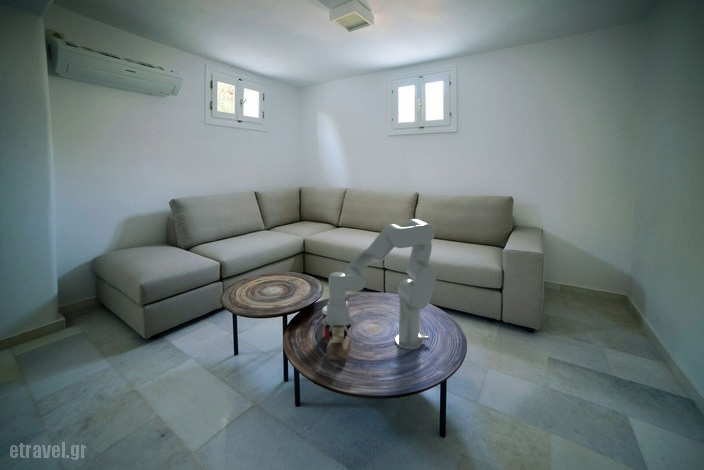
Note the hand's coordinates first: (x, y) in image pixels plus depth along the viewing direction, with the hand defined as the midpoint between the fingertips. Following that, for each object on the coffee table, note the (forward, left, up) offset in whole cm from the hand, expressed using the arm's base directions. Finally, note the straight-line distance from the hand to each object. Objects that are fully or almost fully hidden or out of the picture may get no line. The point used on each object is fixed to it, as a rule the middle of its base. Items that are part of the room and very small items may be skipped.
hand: (338, 337), depth 136 cm
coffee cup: (+5, -15, -9) cm, 18 cm away
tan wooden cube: (0, 0, -9) cm, 9 cm away
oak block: (0, 0, -1) cm, 1 cm away
